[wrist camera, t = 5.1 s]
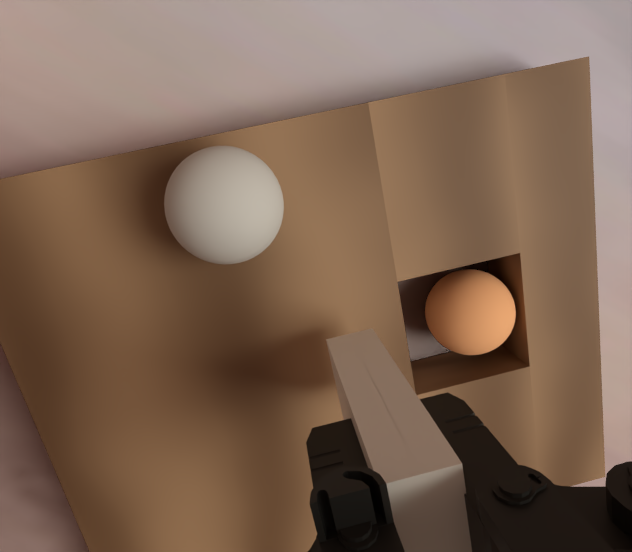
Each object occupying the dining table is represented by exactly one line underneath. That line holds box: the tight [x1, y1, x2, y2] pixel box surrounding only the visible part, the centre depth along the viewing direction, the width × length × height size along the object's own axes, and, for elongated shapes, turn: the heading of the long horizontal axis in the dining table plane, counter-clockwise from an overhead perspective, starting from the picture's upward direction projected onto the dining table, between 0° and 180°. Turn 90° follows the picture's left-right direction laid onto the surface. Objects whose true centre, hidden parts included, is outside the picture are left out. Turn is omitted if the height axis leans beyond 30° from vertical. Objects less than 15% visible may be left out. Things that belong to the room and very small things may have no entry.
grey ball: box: [164, 146, 284, 264], centre depth 12 cm, size 3×3×3 cm
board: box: [0, 57, 605, 552], centre depth 17 cm, size 20×16×2 cm
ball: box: [425, 269, 516, 355], centre depth 17 cm, size 3×3×3 cm
